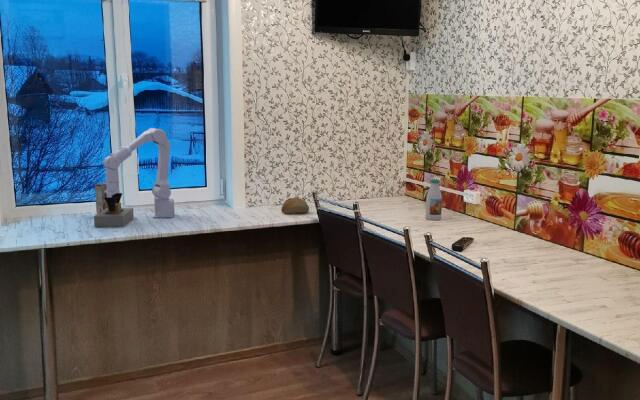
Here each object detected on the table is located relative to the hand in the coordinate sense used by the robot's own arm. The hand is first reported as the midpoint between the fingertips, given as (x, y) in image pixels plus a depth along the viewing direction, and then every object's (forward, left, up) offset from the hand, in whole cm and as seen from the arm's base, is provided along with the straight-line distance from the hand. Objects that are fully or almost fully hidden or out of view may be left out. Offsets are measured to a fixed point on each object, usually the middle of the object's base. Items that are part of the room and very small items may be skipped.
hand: (114, 209), depth 278 cm
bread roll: (-87, -19, -7) cm, 89 cm away
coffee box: (+8, -17, -6) cm, 20 cm away
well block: (0, 0, -6) cm, 6 cm away
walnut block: (0, 0, -6) cm, 6 cm away
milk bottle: (-156, -2, -6) cm, 156 cm away
